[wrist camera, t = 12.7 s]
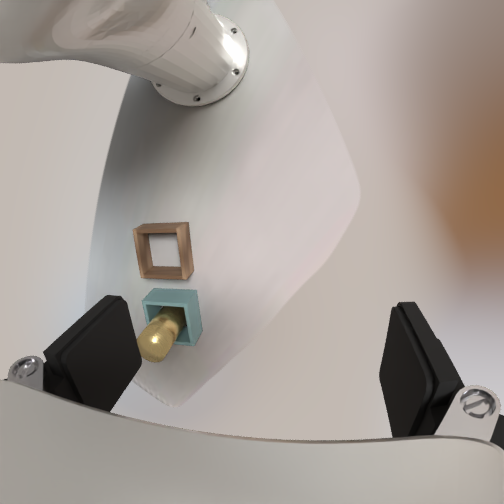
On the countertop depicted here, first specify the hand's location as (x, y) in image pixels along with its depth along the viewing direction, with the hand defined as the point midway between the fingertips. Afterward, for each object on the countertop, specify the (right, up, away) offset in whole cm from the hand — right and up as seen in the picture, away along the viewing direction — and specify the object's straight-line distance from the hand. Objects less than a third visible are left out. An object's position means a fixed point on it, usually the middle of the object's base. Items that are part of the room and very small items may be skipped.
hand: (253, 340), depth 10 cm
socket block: (-11, +4, +31) cm, 33 cm away
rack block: (-11, -5, +34) cm, 36 cm away
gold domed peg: (-11, -5, +34) cm, 36 cm away
